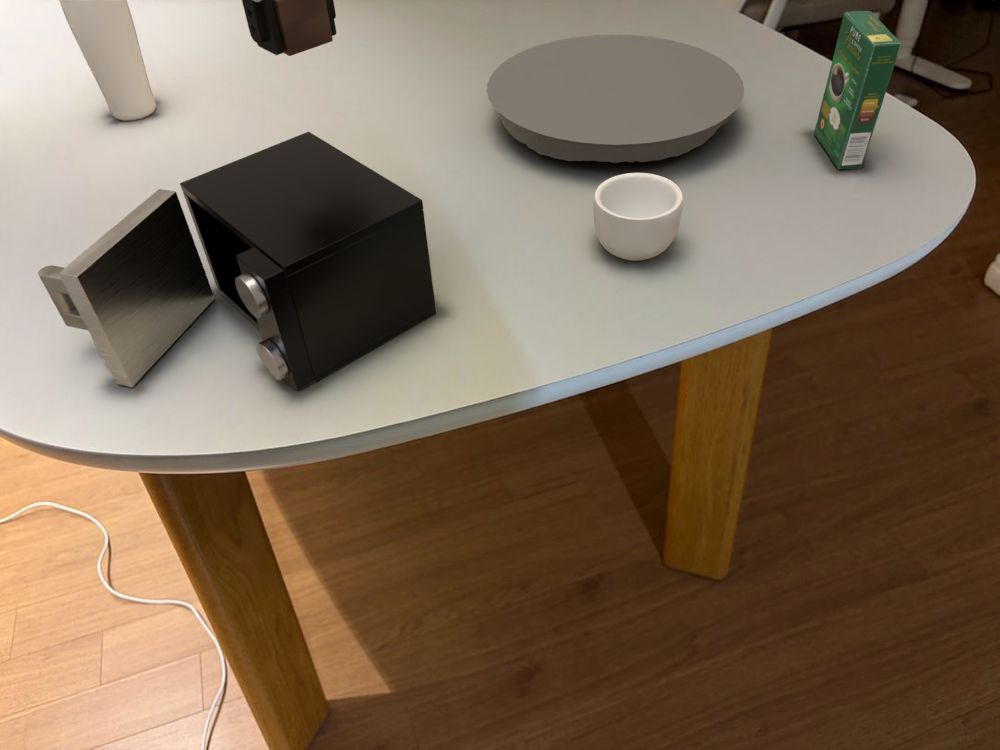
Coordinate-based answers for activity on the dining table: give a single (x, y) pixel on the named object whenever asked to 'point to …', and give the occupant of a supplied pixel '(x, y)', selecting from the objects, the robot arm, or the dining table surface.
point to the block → (303, 24)
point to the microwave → (313, 254)
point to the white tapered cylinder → (112, 54)
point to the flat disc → (614, 97)
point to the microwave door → (134, 287)
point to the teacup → (637, 214)
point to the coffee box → (855, 88)
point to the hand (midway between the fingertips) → (296, 38)
